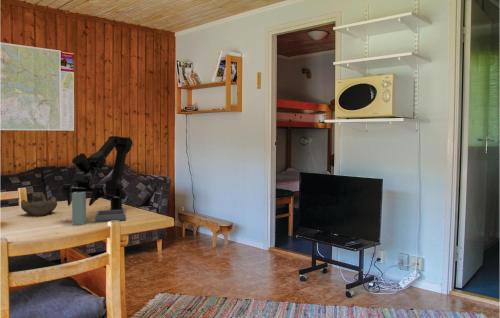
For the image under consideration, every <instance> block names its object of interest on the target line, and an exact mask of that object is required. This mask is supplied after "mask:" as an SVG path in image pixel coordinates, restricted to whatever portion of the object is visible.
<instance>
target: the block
mask: <svg viewBox="0 0 500 318" xmlns="http://www.w3.org/2000/svg"><path fill="white" fill-rule="evenodd" d="M86 196H87V192H74V193H72V202H71V207H72V208H71V209H72V210H71V211H72V212H71V213H72V215H71V216H72V218H71V219H72V226H84V225H86V224H87V197H86Z"/></svg>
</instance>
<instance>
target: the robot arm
mask: <svg viewBox="0 0 500 318" xmlns="http://www.w3.org/2000/svg"><path fill="white" fill-rule="evenodd" d="M132 146H133V140H132V139H131V137H130V136H119V135H110V136H108V138H107V140H106V141H105V142H104V144H103V145H102V146H101V147H100V148H99V150H97V151H96V152H94V153H92V154H91V155H89V156H88V157H87V156H86V153H79V154H78V155H76V156H75V157H74V158H72V160H71V161H72V162H71V163H72V164H73V165H74V166H75V168H76V170H78V172H81V173H75V175H74V180H73V181H74V182H76V185H75V186H76V187H75V186H72V184H70V183H69V184H62V185H61V187H60V190H61V193H62V194H63V196H65V197H66V200H67V206H69V207H70V206H71V205H72V193H74V192H86V193H92V194H91V196H90V199H89V202H88V206H89V207H91V206H92V205H93V204H95V202H96V201H97V200H98V199H101V198H103V197H106V200H108V199H110V208H109V210H124V207H123V200H125V199H126V198H127V193H126V192H125V190H124V185H123V181H122V178H123V173H124V169H125V163H126V157H127V154H128V153H129V152H131V150H132V149H131V148H132ZM114 149H115V151H116V154H115V159H114V164H113V168H112V173H111V178H110V179H109V180H106V182H105V185H104V184H99V183H98V184H95V183H94V181H95V177H99V173H98V172H97V170H96V169H102V168H103V167H104V166H105V164H106V163H107V157H108V156H109V155H110V154H111V152H112V151H113V150H114Z"/></svg>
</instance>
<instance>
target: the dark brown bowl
mask: <svg viewBox="0 0 500 318" xmlns="http://www.w3.org/2000/svg"><path fill="white" fill-rule="evenodd" d="M31 199H32V200H31V201H26V200H25V199H22V200H21V201H20V205H21V206H20V208H21V210H22V211H24V213H27V214H29V215H31V216H33V217H43V216H46V215H47V214H49V213H52V212H54V210H55V209H56V208H57V206H58V200H57V198H56V197H55V196H51V197H50V199H48V200H47V198H46V195H45V194H44V193H43V192H42V191H39V192H32V194H31Z"/></svg>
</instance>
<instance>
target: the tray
mask: <svg viewBox="0 0 500 318" xmlns="http://www.w3.org/2000/svg"><path fill="white" fill-rule="evenodd" d="M94 218H95V219H94V223H108V221H111V220H120V221H119V222H126V209H123V210H110V209H107V210H106V209H105V210H97V211H96V212H95V217H94Z"/></svg>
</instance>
